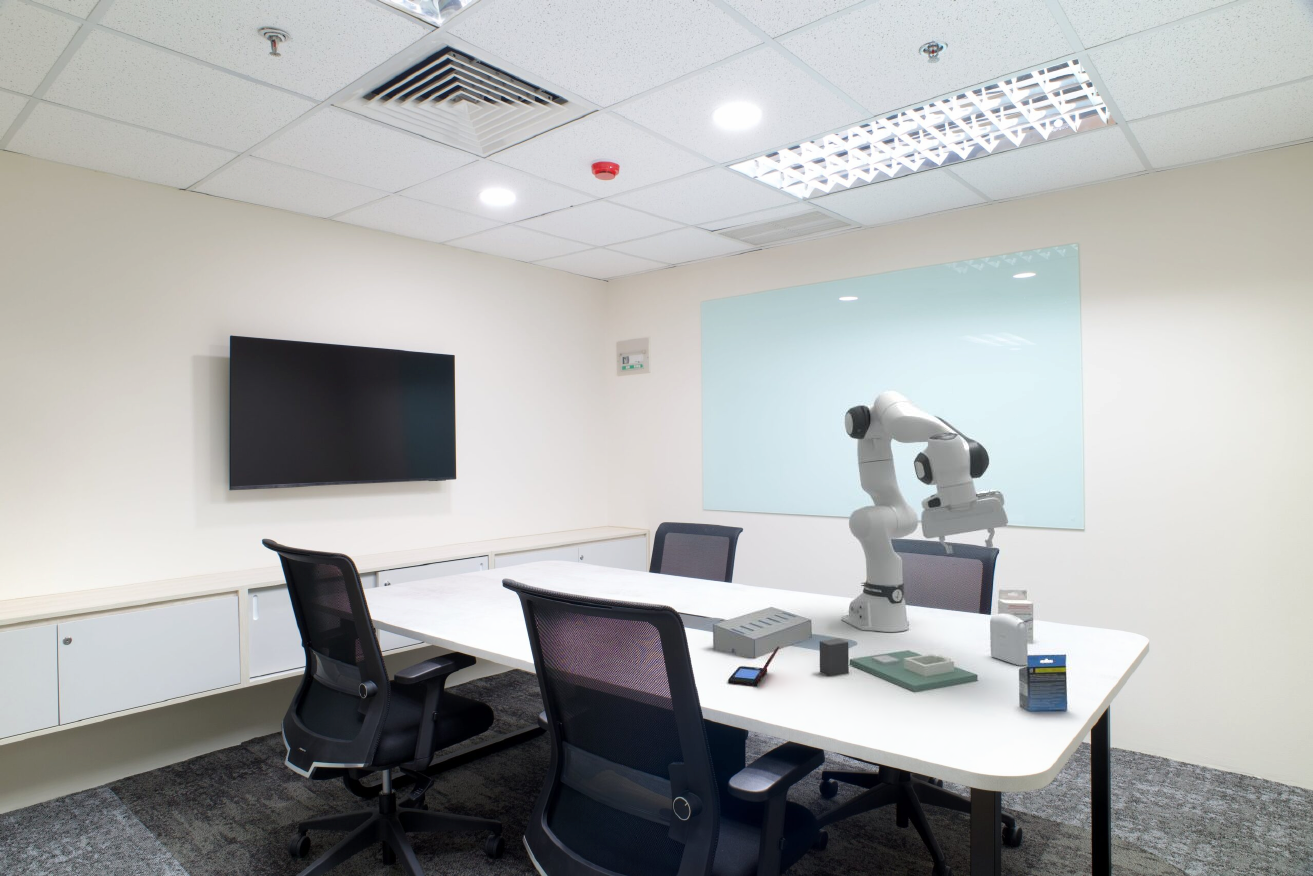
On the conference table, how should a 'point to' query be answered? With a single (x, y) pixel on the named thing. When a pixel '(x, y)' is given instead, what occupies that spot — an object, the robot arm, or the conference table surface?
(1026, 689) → the label tape cartridge
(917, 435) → the robot arm
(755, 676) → the handheld game console
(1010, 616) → the photo printer
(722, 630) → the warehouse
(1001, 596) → the ink cartridge box
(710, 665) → the conference table surface
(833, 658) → the plug
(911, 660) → the board
